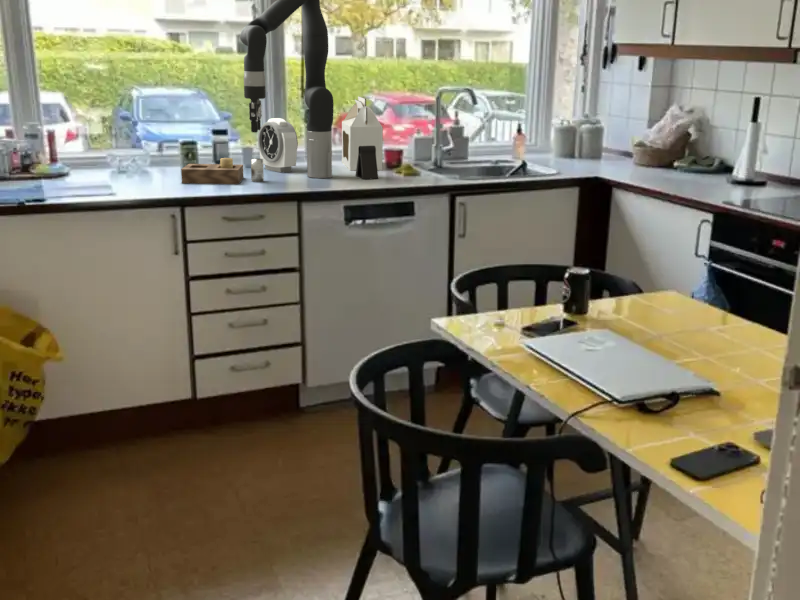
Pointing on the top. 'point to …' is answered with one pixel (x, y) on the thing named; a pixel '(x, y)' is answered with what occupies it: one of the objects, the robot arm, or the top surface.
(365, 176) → the door stopper
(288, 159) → the alarm clock
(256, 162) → the steel bushing
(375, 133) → the gable box
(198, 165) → the block
